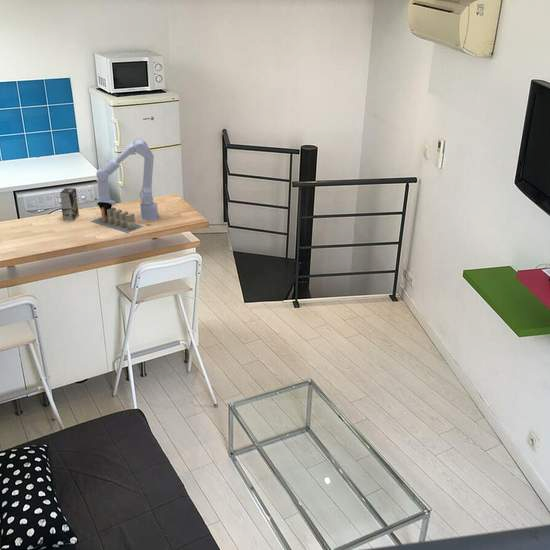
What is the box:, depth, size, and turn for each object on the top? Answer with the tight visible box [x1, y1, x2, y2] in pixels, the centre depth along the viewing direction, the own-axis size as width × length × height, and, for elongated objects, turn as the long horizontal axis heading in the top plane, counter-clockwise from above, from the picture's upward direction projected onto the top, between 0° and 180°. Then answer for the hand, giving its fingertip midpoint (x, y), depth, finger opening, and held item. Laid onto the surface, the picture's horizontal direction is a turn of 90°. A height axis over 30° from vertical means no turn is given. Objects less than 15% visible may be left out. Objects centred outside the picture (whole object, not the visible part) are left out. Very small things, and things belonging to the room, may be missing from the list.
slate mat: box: [90, 216, 144, 234], centre depth 339 cm, size 28×12×1 cm, turn 57°
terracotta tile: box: [100, 207, 108, 222], centre depth 341 cm, size 2×4×8 cm, turn 144°
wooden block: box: [119, 210, 129, 228], centre depth 334 cm, size 2×4×8 cm, turn 147°
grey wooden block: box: [113, 209, 123, 226], centre depth 336 cm, size 2×4×8 cm, turn 147°
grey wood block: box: [107, 206, 117, 224], centre depth 339 cm, size 2×4×8 cm, turn 147°
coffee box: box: [59, 187, 80, 222], centre depth 342 cm, size 9×6×16 cm
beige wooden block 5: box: [126, 212, 136, 230], centre depth 332 cm, size 2×4×8 cm, turn 147°
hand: (106, 214), depth 341 cm, fingers closed on terracotta tile, 2 cm apart
